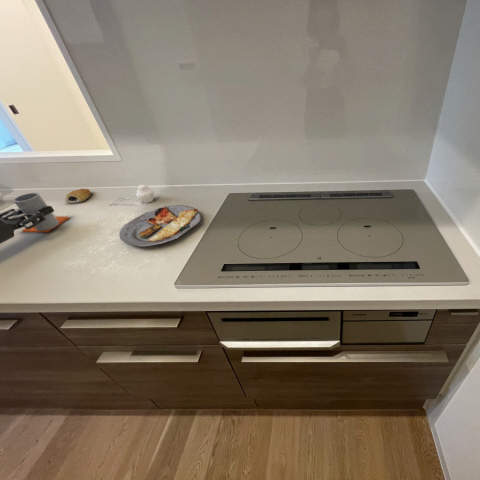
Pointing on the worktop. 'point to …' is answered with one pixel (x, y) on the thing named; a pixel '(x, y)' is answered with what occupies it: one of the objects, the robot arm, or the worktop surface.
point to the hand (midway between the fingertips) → (43, 207)
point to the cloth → (60, 219)
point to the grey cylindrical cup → (35, 209)
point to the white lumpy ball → (145, 193)
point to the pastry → (78, 195)
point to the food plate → (160, 225)
